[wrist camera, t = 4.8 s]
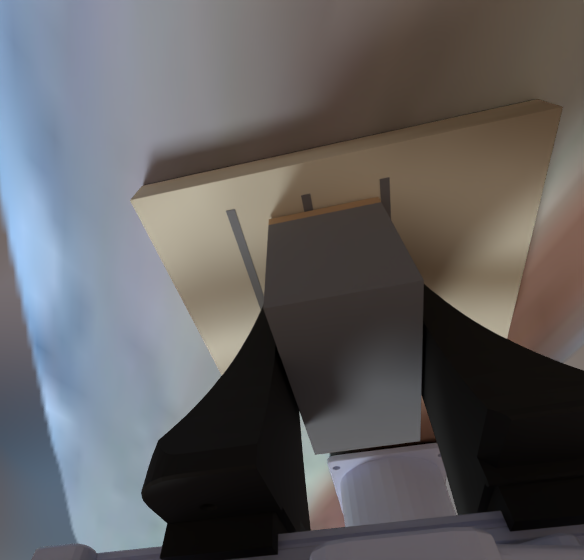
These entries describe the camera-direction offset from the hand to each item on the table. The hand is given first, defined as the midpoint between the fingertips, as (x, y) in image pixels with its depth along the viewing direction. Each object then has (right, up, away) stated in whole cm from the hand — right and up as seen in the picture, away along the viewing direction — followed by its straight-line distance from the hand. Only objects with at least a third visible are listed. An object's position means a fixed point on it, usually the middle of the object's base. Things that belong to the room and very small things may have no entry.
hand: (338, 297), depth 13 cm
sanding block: (0, 0, 0) cm, 0 cm away
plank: (0, +1, +1) cm, 2 cm away
